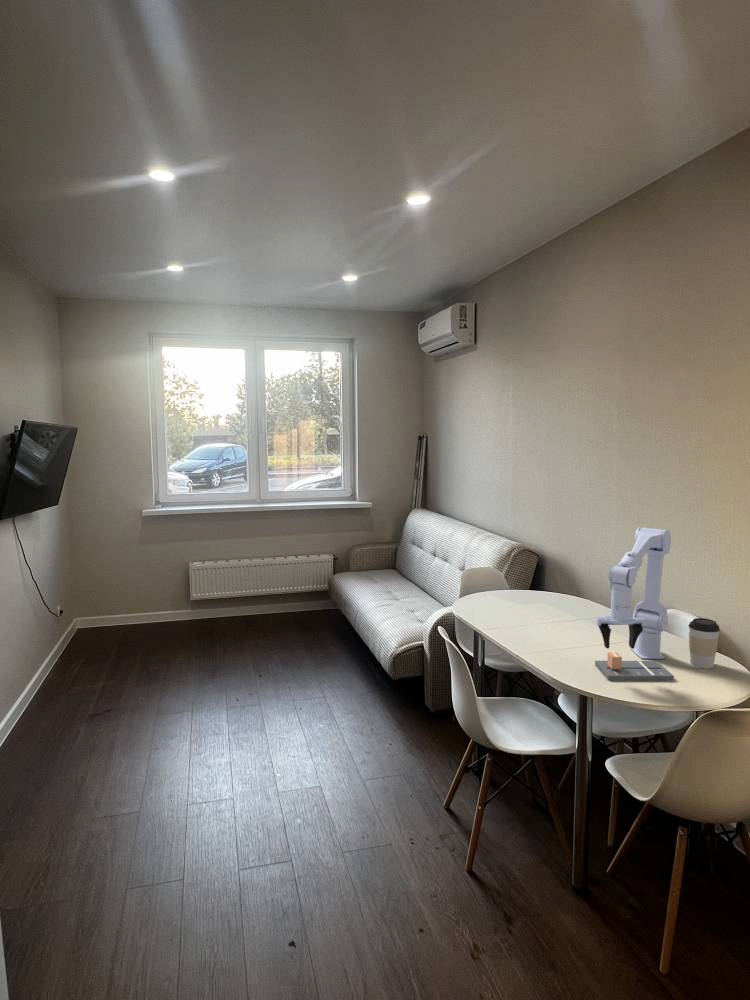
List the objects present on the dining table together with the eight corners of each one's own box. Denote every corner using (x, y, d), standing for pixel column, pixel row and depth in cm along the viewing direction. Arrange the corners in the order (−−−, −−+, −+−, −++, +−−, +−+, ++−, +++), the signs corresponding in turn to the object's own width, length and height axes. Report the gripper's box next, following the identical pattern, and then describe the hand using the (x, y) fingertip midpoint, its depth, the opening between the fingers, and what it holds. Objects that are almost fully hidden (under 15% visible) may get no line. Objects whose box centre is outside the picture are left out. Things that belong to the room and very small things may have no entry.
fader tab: (607, 664, 193) (607, 651, 192) (616, 664, 193) (617, 651, 192) (611, 669, 189) (612, 656, 188) (621, 669, 189) (622, 656, 188)
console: (595, 665, 197) (595, 660, 197) (656, 665, 196) (657, 660, 196) (608, 680, 185) (608, 675, 185) (673, 680, 184) (674, 675, 184)
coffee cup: (684, 666, 196) (687, 621, 194) (688, 657, 203) (690, 614, 201) (716, 672, 191) (719, 626, 189) (718, 662, 198) (721, 618, 196)
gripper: (601, 608, 181) (600, 652, 182) (650, 608, 181) (648, 652, 182) (593, 602, 188) (592, 643, 189) (640, 601, 188) (638, 643, 189)
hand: (619, 647), depth 186 cm, fingers open, 7 cm apart
